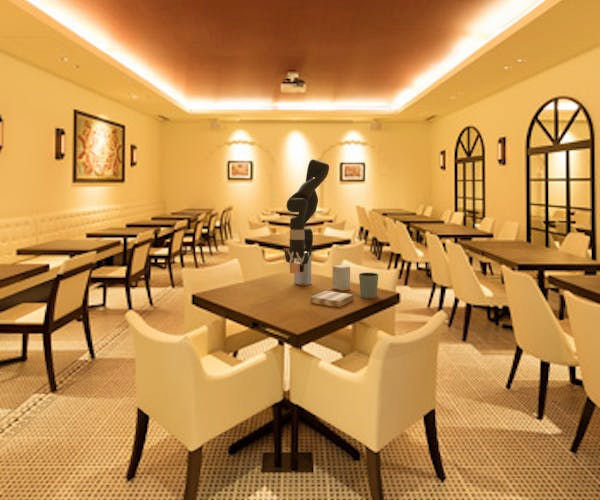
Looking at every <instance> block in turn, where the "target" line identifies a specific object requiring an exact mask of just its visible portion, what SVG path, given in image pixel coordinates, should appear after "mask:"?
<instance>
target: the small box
mask: <svg viewBox="0 0 600 500" xmlns="http://www.w3.org/2000/svg"><path fill="white" fill-rule="evenodd" d="M350 288H351V266H348V265H343V264H338V265H337V264H336V265H332V289H334V290H339V291H348V290H351V289H350Z"/></svg>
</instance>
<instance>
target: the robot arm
mask: <svg viewBox="0 0 600 500" xmlns="http://www.w3.org/2000/svg"><path fill="white" fill-rule="evenodd" d="M307 165H308V166H307V171H306V176H305V182H303V183H302V185H301V186H300V187H299V188H298V190H297V191H296V192H295V193H293V194H292V195H291V196H290V197H289V198H288V199H287V202H286V209H287V211H288V212H290V213H298V214H297V216H293V217H290V220H289V249H287V250H284V256H285V261H286V262H287V263H288V264H290V263H293V262H300V272H303V271H304V272H303V273H300V274H294V273H293V275H294V280H293V281H294V284H296V285H299V286H309V285H311V284H312V252H313V244H314V243H313V241H314V239H313V238H314V233H313V230H312V228H311V227H305V226H306V224H307V222H308V221H309V220H310V219H311V218H312V217H313V216H314V214H315V213H316V212H317V207H318V203H319V197H318V194H317V191H316V189H318V187H320V185H322V183H323V181H324V180H325V179H326V178H327V176H328V174H329V171H330V165H329V164H328V163H326V162H323V161H321V160H318V159H314V158H313V159H311V160H310V161H309V162H308V164H307Z"/></svg>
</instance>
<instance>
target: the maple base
mask: <svg viewBox="0 0 600 500" xmlns="http://www.w3.org/2000/svg"><path fill="white" fill-rule="evenodd" d="M352 301H354V294H351V293H345V292H336V291H331V290H324V291H322V292H319V293H316V294H315V295H312V296H310V303H311V304H317V305H323V306H328V307H336V308H340V307H343V306H344V305H347V304H349V303H351V302H352Z"/></svg>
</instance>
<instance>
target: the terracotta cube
mask: <svg viewBox="0 0 600 500" xmlns="http://www.w3.org/2000/svg"><path fill="white" fill-rule="evenodd" d="M303 272H304V271H303ZM303 272H300V262H296V261H294V262H293V263H289V274H293V275H294V274H300V273H303Z"/></svg>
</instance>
